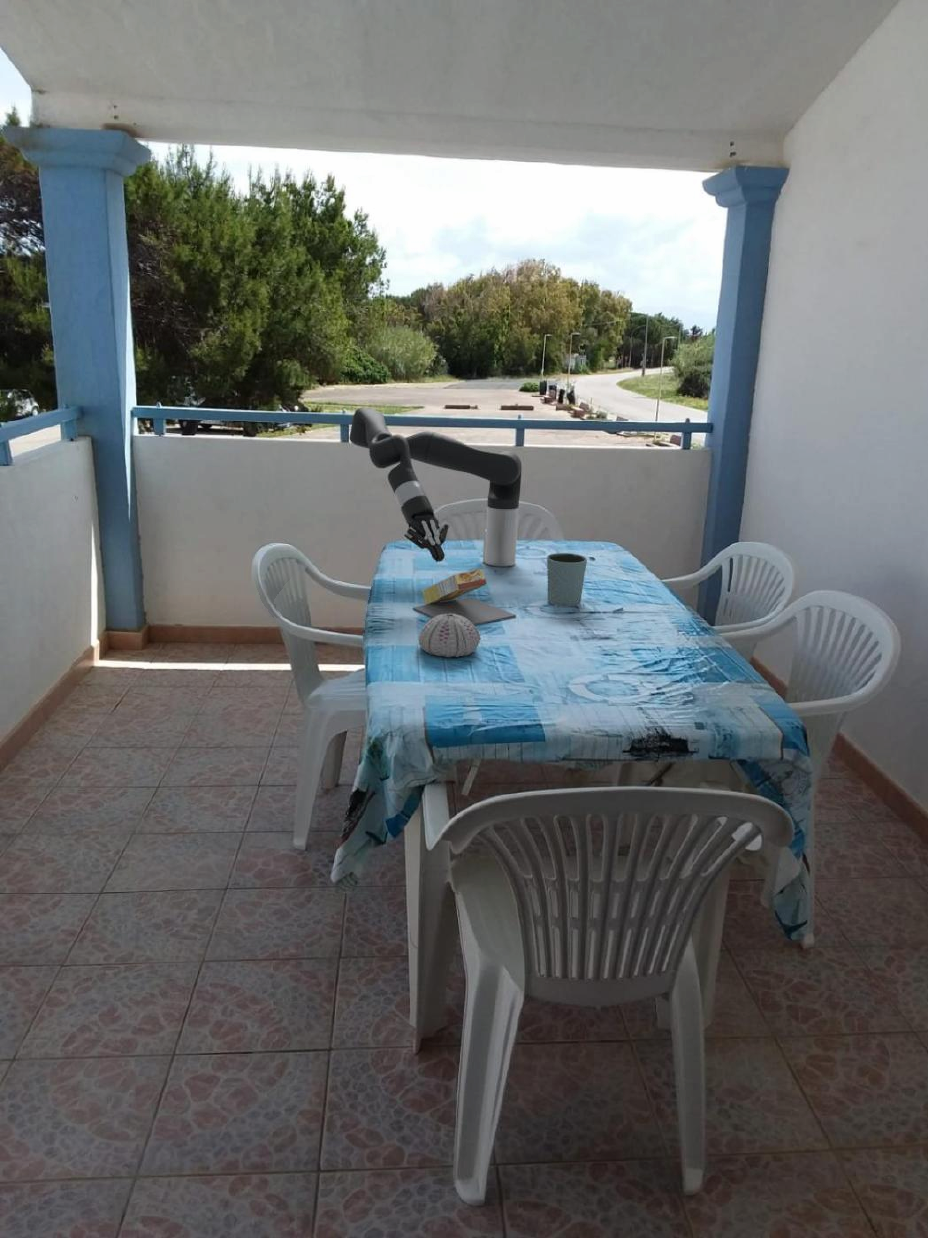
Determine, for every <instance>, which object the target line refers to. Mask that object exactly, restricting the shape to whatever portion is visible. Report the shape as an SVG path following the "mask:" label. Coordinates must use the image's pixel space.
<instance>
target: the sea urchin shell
mask: <svg viewBox="0 0 928 1238" xmlns="http://www.w3.org/2000/svg"><path fill="white" fill-rule="evenodd" d="M479 633H480V632H479V631H478V628H477V627H476V625H475V626H474V625H473V624H472V623H471V622H470V621H469V620H467V619H466V618H464V617H462V616H460V615H456V614H441V615H438V616H435V617H434V618H431V619H429V620H428V621H427V622H426V624H424V627H423V628H421V631H420V632H419V635H418V636H417V637H418V639H417V640H418V645H419V647H420V648H421V649H422V650H423V651H425V652H426V653H428V654H430V655H435V656H438V657H446V658H450V657H451V658H453V657H455V656H456V657H455V658H459V656H468V655H471V653H474V651H477V647H479V644H480V643H481V641H480V640H481V634H479ZM452 656H453V657H452Z"/></svg>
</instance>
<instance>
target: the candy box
mask: <svg viewBox="0 0 928 1238" xmlns="http://www.w3.org/2000/svg"><path fill="white" fill-rule="evenodd" d="M487 584H488V583H487V580H486V576H485V573H484V570H483V569H482V568H480V569H475V570H471V571H470V570H469V571H463V572H459V573H454V574H452V575H451V576H449V577H446V578H444V579H443V580H440V581H438V582H437V583H434V584H433V585H431V586H430V585H429V587H427V588H424V589H422V590H421V592H422V595H423V598H424V601H425V605H429V604H434V603H439V602H445V601H450V600H456V599H459V598H460V597H462V596H464V595H467V594H469V593H470V592H472V591H475V590H478V589H479V588H481V587H484V586H487Z"/></svg>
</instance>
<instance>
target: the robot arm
mask: <svg viewBox="0 0 928 1238" xmlns="http://www.w3.org/2000/svg"><path fill="white" fill-rule="evenodd" d="M349 442H350V443H352V445H355V446H358V447H361V448H365V449H369V451H368V452H369V457H370V460H371V462H372V465H374V466H375V467H376V468H378V469H386V468H389V467H391V466H393V465H396V464H397V465H396V466H395V467H393V468H392V469H391V470H390V471H388V474H387V480H388V483H389V485H390V487H391V489H392V491H393V495H394V496H395V500H396V502H397V504H398V507H399V509H400V512H401V513H402V516H403V517H404V519H405V522H406V523H407V525H408V529H407V530H406V531H405V533H404V535H403V536H404V537H405V538H406V539H407V540H409V541H410V542H411V543H413V544H414V545H416V546H417V547H418V548H420V549H421V550H424V549H426V550H428V551H429V553H430V554H431V558H432V559H433V560H434V561H435V562H436V563H440V562H443V560H444V559H445V552H444V550H443V547H442V545H443V544H444V543H445V541H446V539H447V534H448V531H449V527H450V526H449V524H448V523H445V524H444V525H443V524H442V523H440V522H439V520H438V519H437V518H436V516H435V511H434V509H433V506H432V504H431V503H430V500H429V498H428V496H427V494H426V491H425V489H424V488H423V486H422V485H421V483H420V481H419V480H418V477H417V475H416V473H415V470H414V468H413V466H412V465H413V463H412V460H414V461H418V462H421V463H423V464H428V465H430V466H431V465H432V466H435V467H438V468H441V469H448V470H451V471H456V472H462V473H467V474H471V475H473V476H476V477H479V478H481V479H484V480H487V481H488V482H489V488H488V495H487V506H486V507H487V508H486V529H485V530H484V531H483V547H482V548H483V549H482V552H483V553H482V554H483V555H482V562H484V563H485V564H486V565H489V566H493V567H512V566H514V565H516V555H517V553H516V552H517V540H518V539H517V537H518V524H519V522H518V521H519V520H518V519H519V505H520V496H521V485H522V469H523V468H522V461H521V459H520V457H519V456H518V455H517V454H516V453H515V452H512V451H509V450H503V451H499V452H493V451H486V450H482V449H478V448H475V447H472V446H470V445H468V444H466V443H464V442H462V441H460V440H458V439H456V438H453V437H450V436H448V435H445V434H442V433H441V434H440V433H438V432H433V431H429V430H426V431H422V432H417V433H415V434H411V435H409V436H406V437H404V436H403V435H401V434H394V435H393V434H392V433H391V432H390V431H389V429H388V427H387V423H386V419H385V416H384V414H383V413H382V412H381V411H378V410H377V409H372V408H369V407H359V408H357V409H356V410H355V411H354V414H353V417H352V422H351V427H350V433H349Z"/></svg>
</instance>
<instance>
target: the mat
mask: <svg viewBox="0 0 928 1238" xmlns="http://www.w3.org/2000/svg"><path fill="white" fill-rule="evenodd" d="M412 609H413V610H414V611H416V612H418V613H420V612H421V613H420V614H422V613H423V615H424V614H425V615H424V616H427V617H429V618H431V619H432V618H434V617H435V616H438V615H441V614H456V615H460V616H462V617H464V618H466V619H467V620H469V621H470V622H471V623H472V624H473V625H474V626H475V627H476V626H479V624H480V625H484V624H483V623H485V624H487V623H486V622H490V623H493V622H492V621H494V622H497V621H496V620H499V621H501V620H500V619H504V620H508V618H509V619H513V618H512V617H514V618H516V617H517V615H516V614H514V613H512V612H509V611H507V610H505V609H502V608H500V607H497V606H495V605H492V604H489V603H487V602H484V601H481V600H479V599H477V598H474V597H472V596H467V597H462V598H455V599H453V600H449V601H444V602H439V603H434V604H429V605H426V604H424V605H419V606H413V607H412Z"/></svg>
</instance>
